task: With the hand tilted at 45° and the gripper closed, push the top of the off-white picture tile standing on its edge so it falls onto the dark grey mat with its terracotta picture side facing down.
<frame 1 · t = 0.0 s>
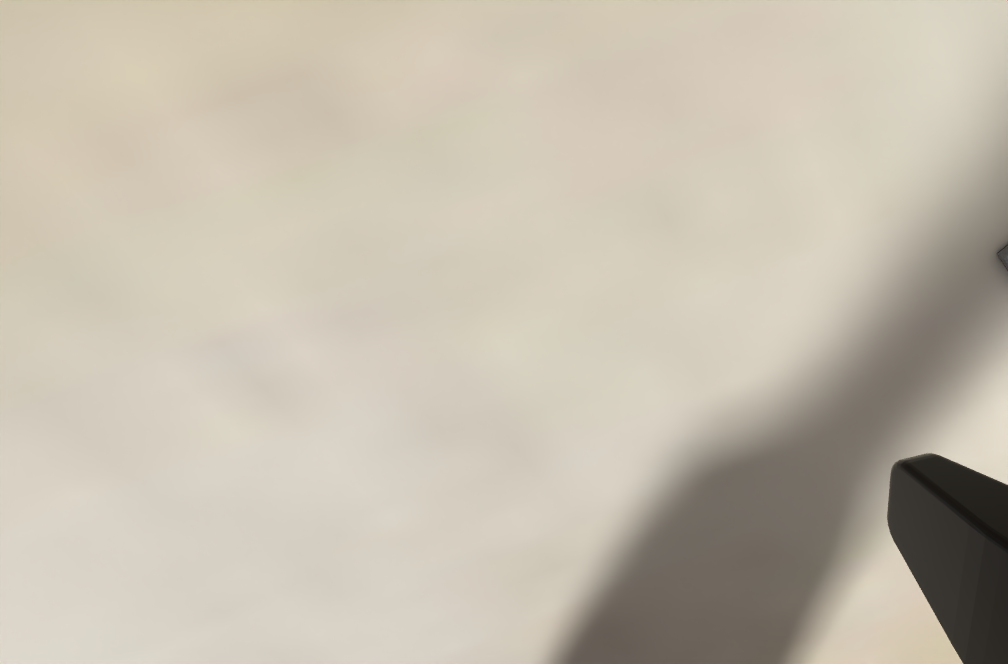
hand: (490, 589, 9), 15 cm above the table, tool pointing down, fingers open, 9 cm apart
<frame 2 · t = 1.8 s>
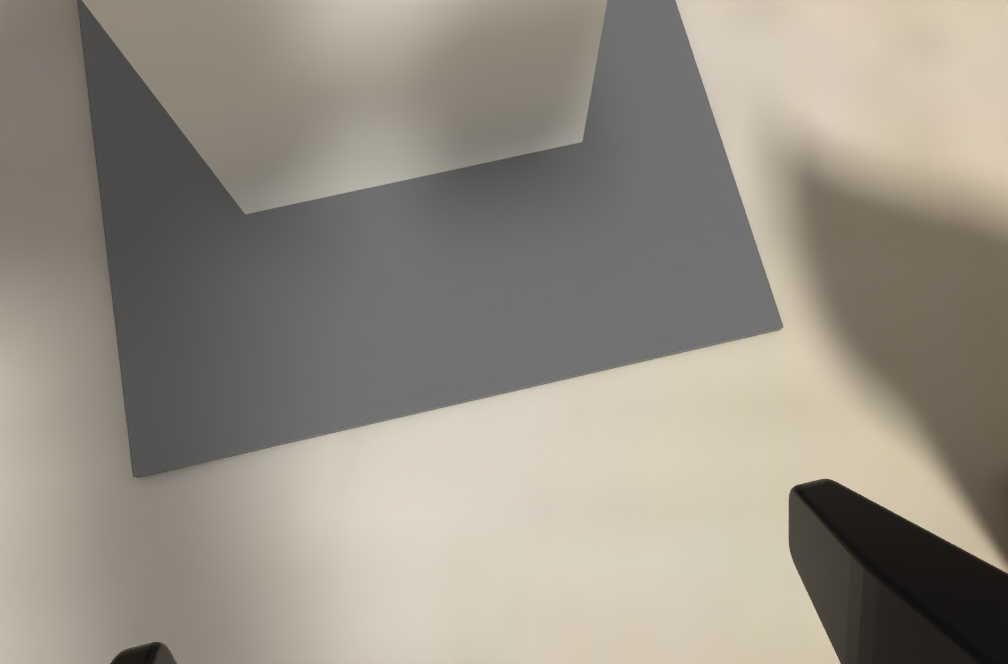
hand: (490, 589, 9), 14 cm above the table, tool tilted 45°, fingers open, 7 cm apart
felt mat: (388, 57, 26), on the table
picture tile: (407, 139, 25), resting on felt mat
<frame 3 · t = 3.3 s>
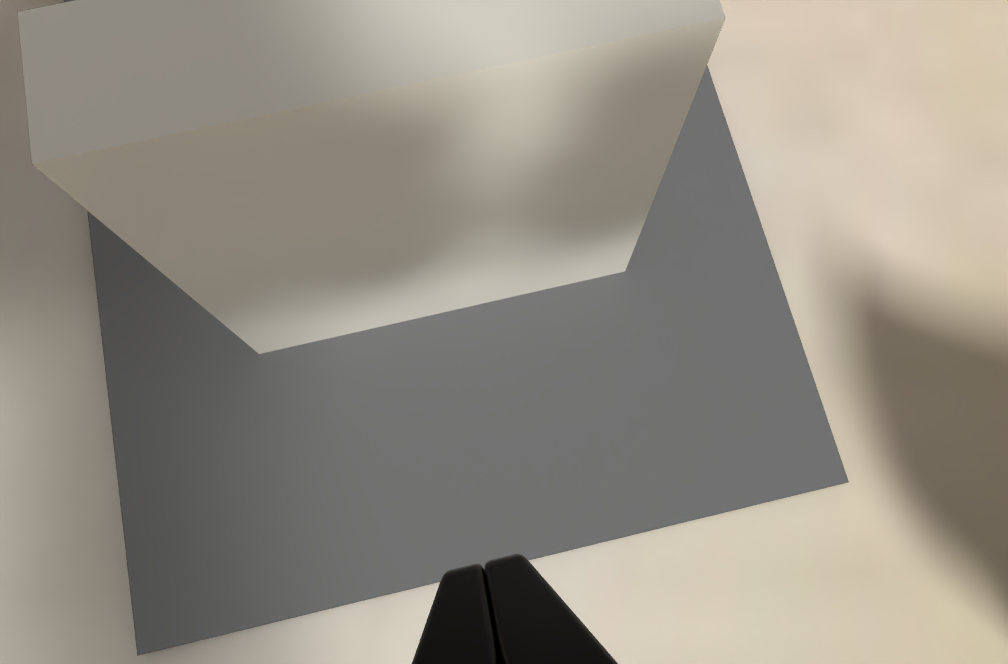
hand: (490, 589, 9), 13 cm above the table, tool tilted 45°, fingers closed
felt mat: (413, 174, 24), on the table
picture tile: (434, 269, 23), resting on felt mat
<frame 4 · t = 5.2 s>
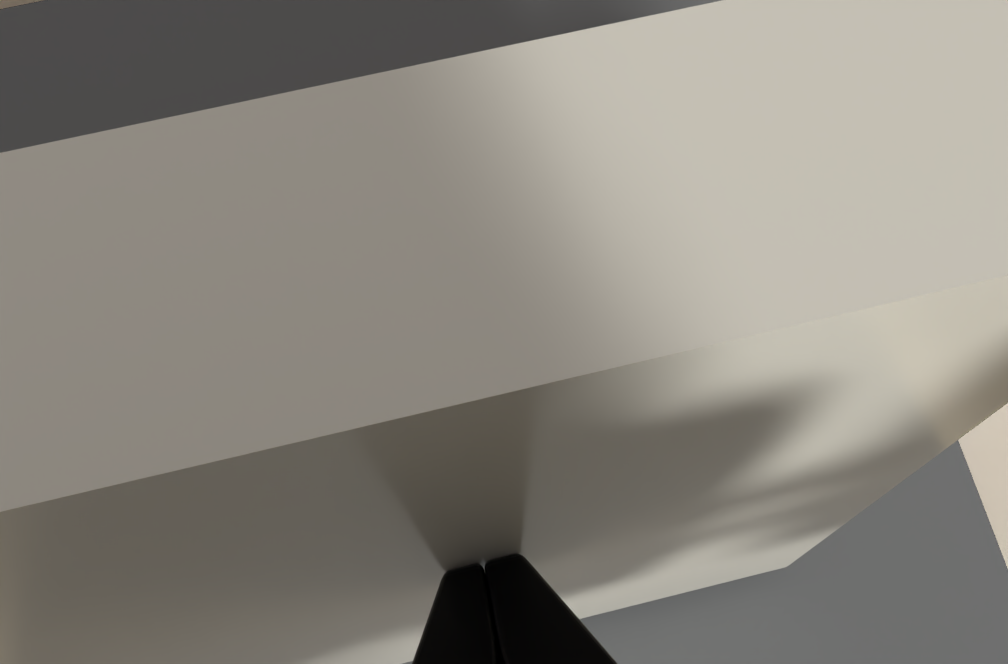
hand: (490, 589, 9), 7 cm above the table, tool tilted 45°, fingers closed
felt mat: (458, 408, 16), on the table
picture tile: (493, 564, 15), point 1 cm above the table, tilted 10°, touching felt mat
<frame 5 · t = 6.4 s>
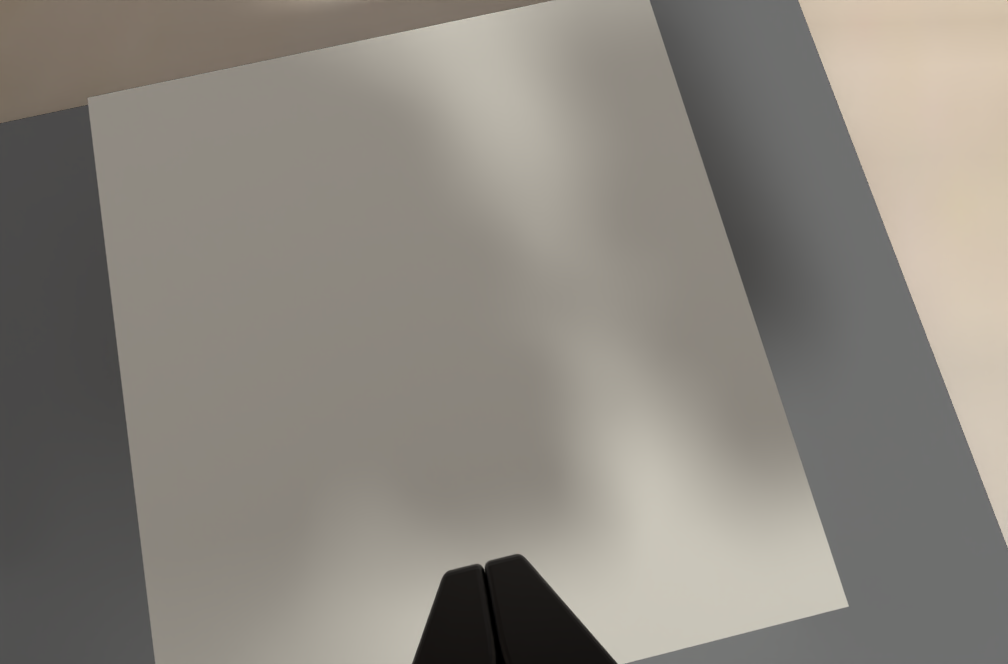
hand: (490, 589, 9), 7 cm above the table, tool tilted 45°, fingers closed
felt mat: (493, 572, 15), on the table
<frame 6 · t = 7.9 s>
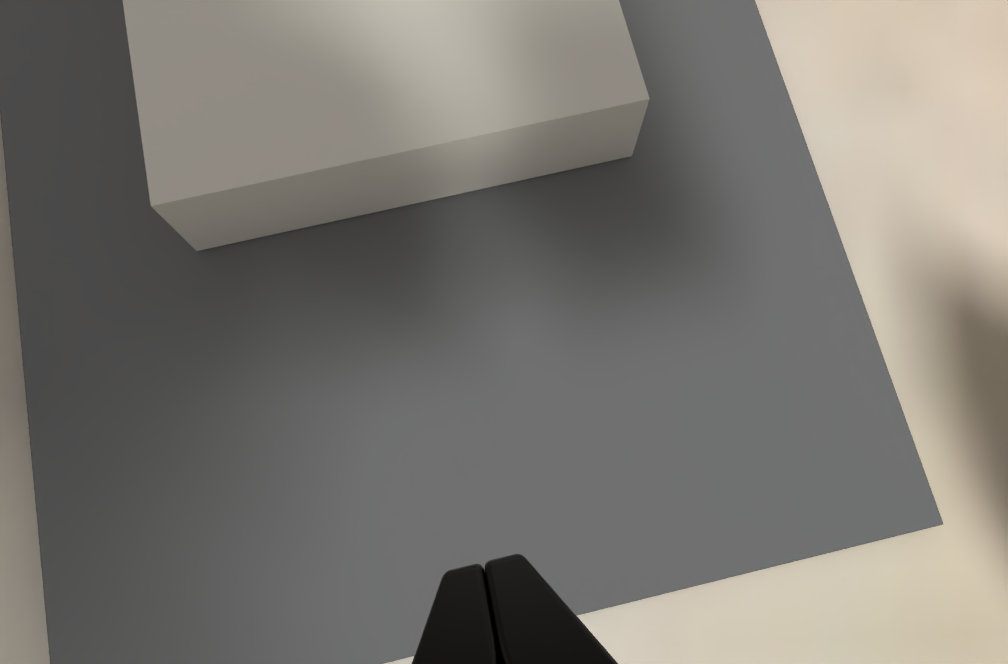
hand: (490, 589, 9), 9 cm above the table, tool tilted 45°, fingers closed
felt mat: (404, 145, 20), on the table
picture tile: (411, 179, 18), point 2 cm above the table, tilted 90°, touching felt mat
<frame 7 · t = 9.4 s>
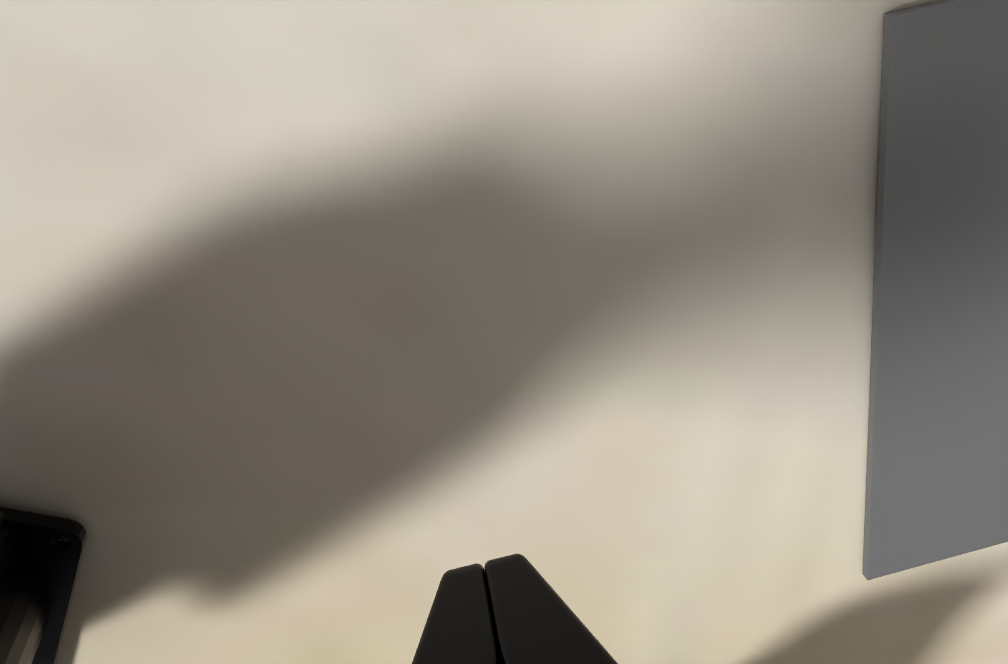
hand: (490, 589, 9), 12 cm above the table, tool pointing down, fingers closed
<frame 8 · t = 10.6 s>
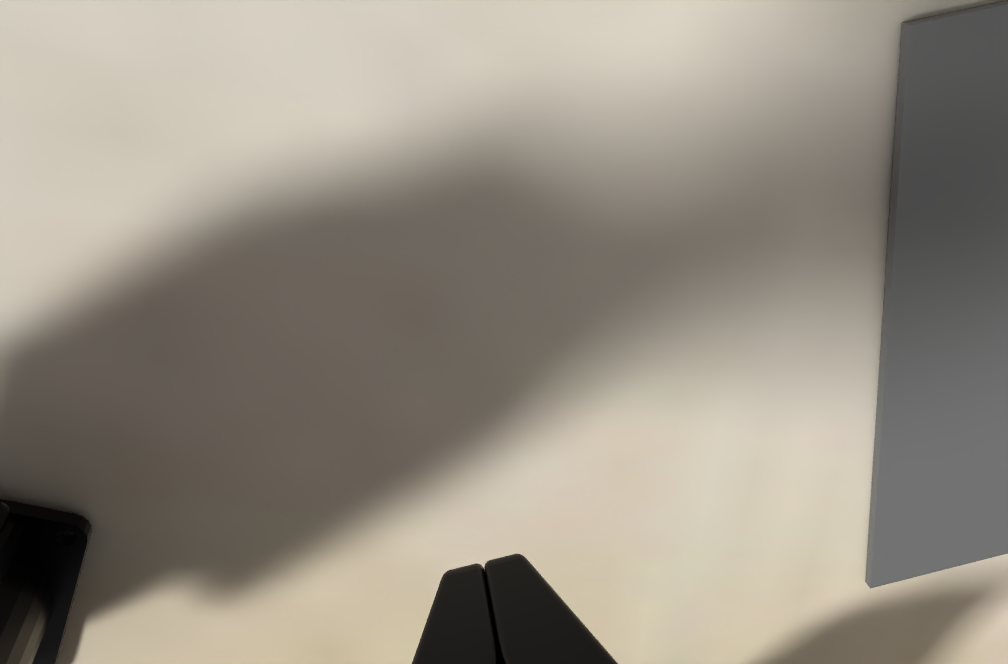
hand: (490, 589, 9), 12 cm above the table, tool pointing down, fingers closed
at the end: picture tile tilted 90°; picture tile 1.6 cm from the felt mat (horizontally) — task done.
